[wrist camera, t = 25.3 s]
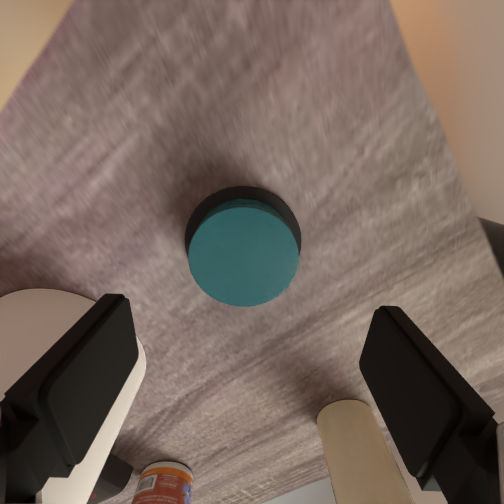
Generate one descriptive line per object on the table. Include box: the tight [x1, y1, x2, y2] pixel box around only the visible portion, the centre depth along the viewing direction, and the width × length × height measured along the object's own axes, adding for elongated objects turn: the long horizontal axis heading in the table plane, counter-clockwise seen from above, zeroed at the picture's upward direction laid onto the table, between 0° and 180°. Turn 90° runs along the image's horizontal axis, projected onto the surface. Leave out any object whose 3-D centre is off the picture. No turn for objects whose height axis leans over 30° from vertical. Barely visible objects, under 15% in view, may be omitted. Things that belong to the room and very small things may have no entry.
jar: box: [317, 400, 415, 504], centre depth 21 cm, size 6×6×10 cm
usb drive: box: [86, 454, 133, 504], centre depth 26 cm, size 5×12×3 cm, turn 36°
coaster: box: [185, 186, 301, 256], centre depth 17 cm, size 8×8×1 cm
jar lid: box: [188, 199, 299, 307], centre depth 16 cm, size 7×7×2 cm
